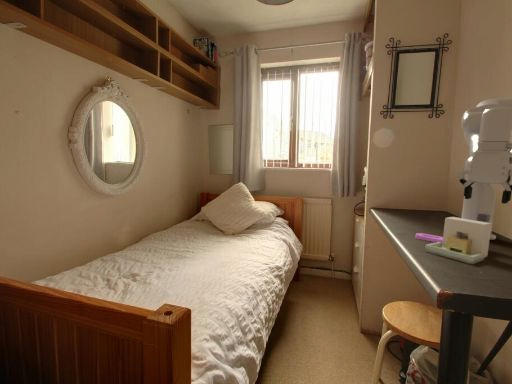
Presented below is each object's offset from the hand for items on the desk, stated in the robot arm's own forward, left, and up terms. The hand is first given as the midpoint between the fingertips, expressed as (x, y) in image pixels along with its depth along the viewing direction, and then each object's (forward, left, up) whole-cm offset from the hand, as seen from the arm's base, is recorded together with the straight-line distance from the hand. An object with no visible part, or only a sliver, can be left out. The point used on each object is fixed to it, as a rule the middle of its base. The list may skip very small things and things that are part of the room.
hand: (485, 200), depth 88 cm
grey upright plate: (+6, 0, -12) cm, 13 cm away
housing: (+12, 0, -16) cm, 20 cm away
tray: (+19, 0, -16) cm, 25 cm away
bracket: (+6, -10, -16) cm, 20 cm away
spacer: (+17, 0, -15) cm, 22 cm away
